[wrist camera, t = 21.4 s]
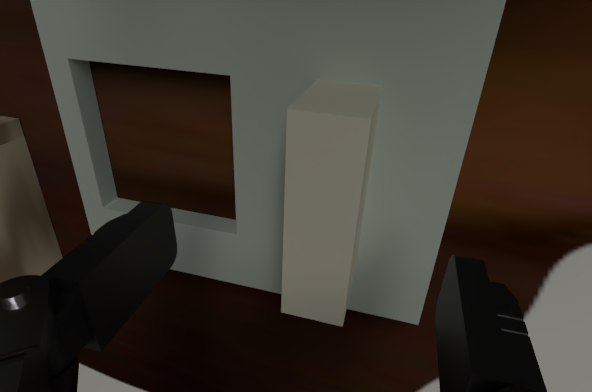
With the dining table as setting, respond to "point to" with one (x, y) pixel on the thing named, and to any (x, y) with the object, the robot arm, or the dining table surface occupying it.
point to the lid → (298, 134)
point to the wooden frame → (22, 210)
